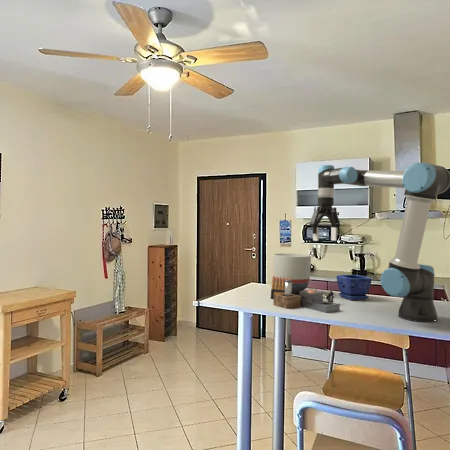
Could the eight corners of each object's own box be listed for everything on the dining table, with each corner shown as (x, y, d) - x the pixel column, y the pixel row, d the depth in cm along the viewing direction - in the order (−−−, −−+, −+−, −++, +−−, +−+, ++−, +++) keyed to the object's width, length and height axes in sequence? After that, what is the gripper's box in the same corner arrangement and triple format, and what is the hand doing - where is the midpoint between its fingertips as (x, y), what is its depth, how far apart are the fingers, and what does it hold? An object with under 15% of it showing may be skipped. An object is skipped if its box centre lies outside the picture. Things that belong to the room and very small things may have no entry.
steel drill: (293, 305, 191) (293, 280, 191) (287, 306, 189) (288, 281, 189) (288, 304, 194) (288, 279, 194) (282, 305, 192) (283, 280, 192)
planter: (308, 297, 213) (309, 257, 213) (269, 295, 219) (271, 255, 218) (311, 291, 232) (312, 254, 232) (275, 289, 238) (276, 252, 238)
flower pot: (355, 295, 223) (356, 274, 223) (371, 300, 210) (372, 277, 210) (335, 296, 219) (335, 274, 219) (350, 301, 206) (350, 278, 206)
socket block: (339, 310, 184) (340, 295, 183) (326, 312, 178) (326, 297, 178) (309, 303, 198) (310, 289, 198) (296, 305, 193) (297, 290, 193)
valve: (305, 302, 201) (329, 305, 195) (306, 289, 201) (329, 292, 195) (310, 300, 207) (334, 303, 200) (311, 287, 207) (334, 290, 200)
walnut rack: (300, 306, 190) (300, 296, 190) (286, 308, 185) (287, 297, 185) (287, 303, 198) (287, 292, 198) (273, 305, 192) (273, 294, 192)
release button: (316, 298, 191) (317, 291, 191) (311, 299, 189) (311, 291, 189) (311, 297, 194) (311, 290, 194) (305, 298, 192) (306, 290, 192)
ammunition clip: (291, 300, 205) (292, 277, 205) (290, 301, 203) (291, 277, 203) (271, 298, 209) (272, 275, 209) (270, 298, 208) (271, 275, 207)
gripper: (335, 198, 208) (334, 240, 208) (302, 196, 193) (301, 240, 193) (347, 198, 202) (347, 240, 202) (314, 195, 187) (313, 241, 187)
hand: (324, 240), depth 198 cm, fingers open, 13 cm apart
